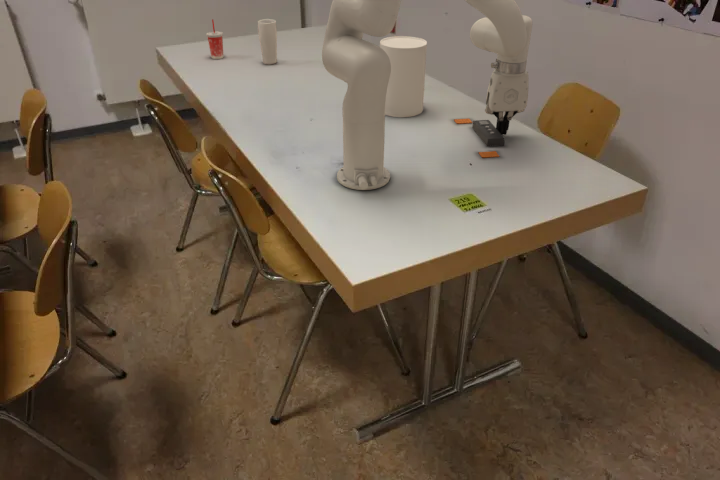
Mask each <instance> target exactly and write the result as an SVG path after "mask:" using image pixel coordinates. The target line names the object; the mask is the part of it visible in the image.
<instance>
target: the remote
mask: <svg viewBox="0 0 720 480" xmlns="http://www.w3.org/2000/svg"><path fill="white" fill-rule="evenodd" d="M471 128H472V129H473V131H474V132H475V134H476V135H477V136H478V137H479V139H480V140H481V141H482V142H483V143H484V145H485V146H486V147H488V148H489V147H503V146H504V144H505V137H504V136H503V135H501V133H500V132H499V131H498V130H497V129H496V125H494V124H493V123H492V122H491V121H490V119H479V120H478V119H477V120H476V119H475V120H472V127H471Z"/></svg>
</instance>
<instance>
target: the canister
mask: <svg viewBox="0 0 720 480" xmlns="http://www.w3.org/2000/svg"><path fill="white" fill-rule="evenodd" d="M379 47H380V48H382V49H383V50H384V51H385V52H386V54H387V55H388V57H389V59H390V63H391V73H390V78H389V82H388V87H387V93H386V102H385V116H388V117H394V118H410V117H416V116H418V115H421V114H422V113H423V112H424V100H425V99H424V97H425V83H426V69H427V68H426V67H427V50H428V41H427V40H425V39H423V38H421V37H417V36H409V35H407V36H406V35H397V36H394V35H393V36H387V37H384V38H382V39H380V41H379Z"/></svg>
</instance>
